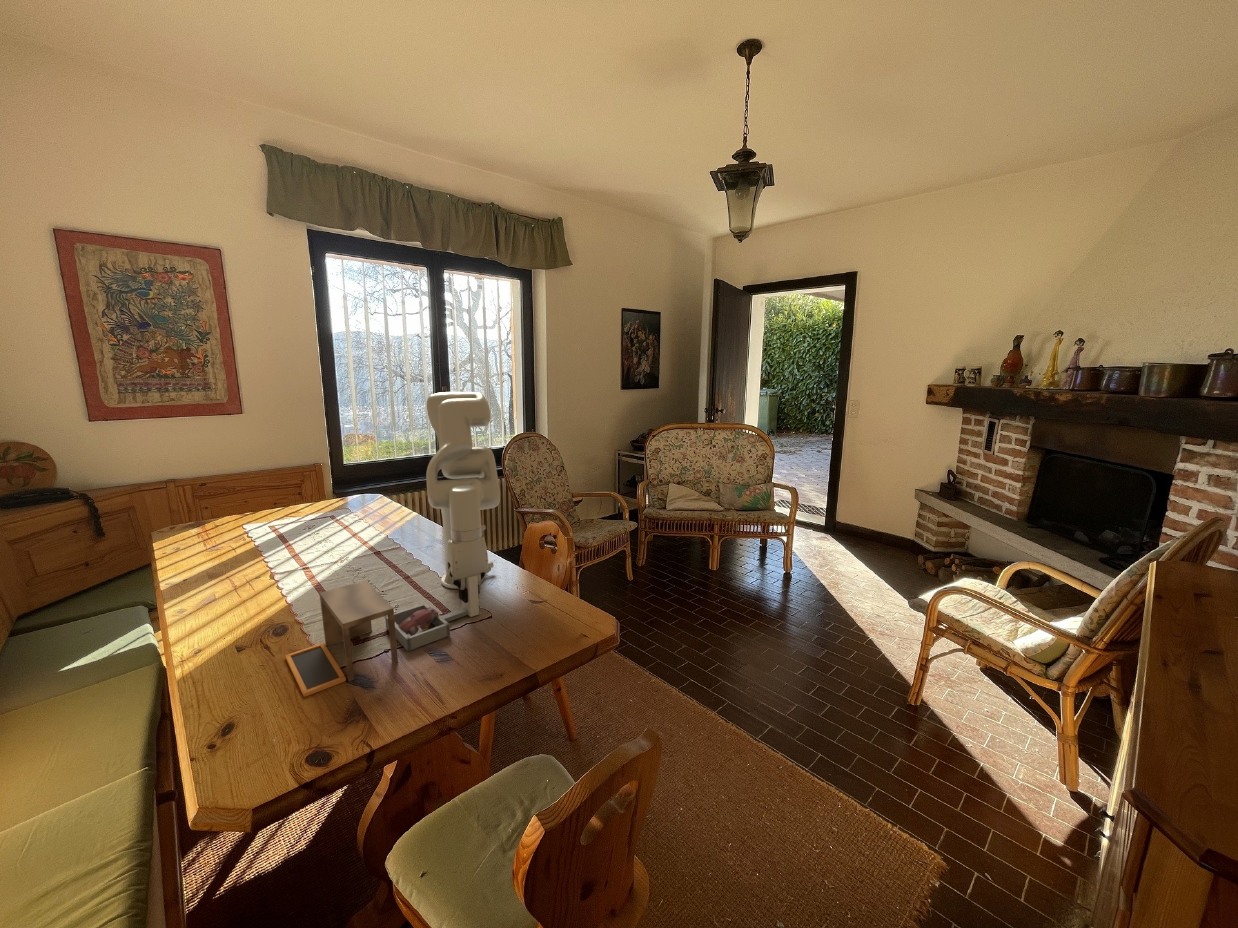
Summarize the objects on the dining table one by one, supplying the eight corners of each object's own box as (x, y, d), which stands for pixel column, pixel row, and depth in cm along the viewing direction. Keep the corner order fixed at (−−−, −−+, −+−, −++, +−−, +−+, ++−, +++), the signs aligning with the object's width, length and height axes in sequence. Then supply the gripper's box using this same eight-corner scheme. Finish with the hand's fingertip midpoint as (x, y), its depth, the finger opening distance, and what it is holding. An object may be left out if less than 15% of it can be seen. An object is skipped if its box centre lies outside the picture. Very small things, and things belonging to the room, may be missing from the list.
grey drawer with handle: (462, 601, 138) (460, 564, 135) (487, 620, 128) (486, 581, 125) (386, 626, 124) (382, 586, 122) (407, 651, 114) (404, 607, 112)
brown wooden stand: (370, 629, 123) (365, 580, 121) (398, 662, 110) (393, 607, 107) (325, 644, 117) (319, 592, 114) (349, 681, 103) (342, 624, 101)
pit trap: (323, 645, 116) (323, 642, 116) (345, 680, 104) (345, 677, 103) (285, 658, 111) (285, 655, 111) (304, 697, 98) (303, 693, 98)
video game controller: (402, 647, 118) (408, 627, 115) (391, 634, 120) (397, 614, 117) (436, 628, 126) (443, 609, 123) (426, 617, 128) (432, 597, 125)
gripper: (487, 523, 135) (490, 585, 139) (429, 536, 125) (434, 603, 128) (501, 530, 130) (503, 594, 134) (442, 545, 119) (446, 614, 123)
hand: (469, 598), depth 131 cm, fingers closed on grey drawer with handle, 2 cm apart
